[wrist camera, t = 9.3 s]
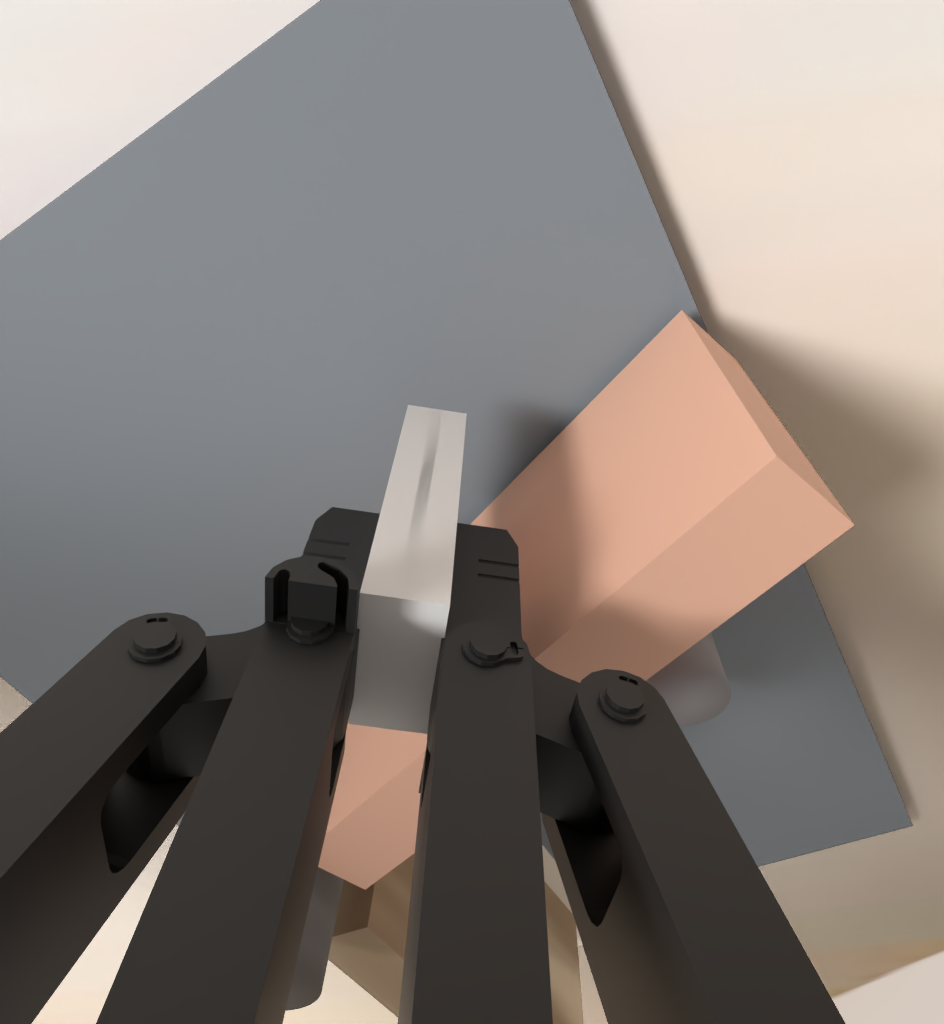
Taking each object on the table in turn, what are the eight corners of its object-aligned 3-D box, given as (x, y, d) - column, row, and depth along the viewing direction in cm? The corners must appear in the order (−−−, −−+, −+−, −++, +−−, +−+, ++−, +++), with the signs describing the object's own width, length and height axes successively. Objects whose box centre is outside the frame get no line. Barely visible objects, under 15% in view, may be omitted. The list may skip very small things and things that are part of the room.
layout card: (380, 979, 35) (368, 1069, 32) (-256, 436, 21) (-389, 503, 18) (918, 841, 28) (968, 940, 25) (509, -134, 13) (509, -189, 10)
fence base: (528, 926, 31) (534, 1217, 23) (292, 670, 24) (188, 968, 16) (582, 913, 30) (606, 1208, 22) (354, 644, 23) (276, 943, 15)
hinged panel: (355, 641, 22) (297, 857, 16) (681, 310, 17) (776, 456, 11) (403, 670, 23) (365, 890, 17) (735, 359, 17) (854, 525, 11)
